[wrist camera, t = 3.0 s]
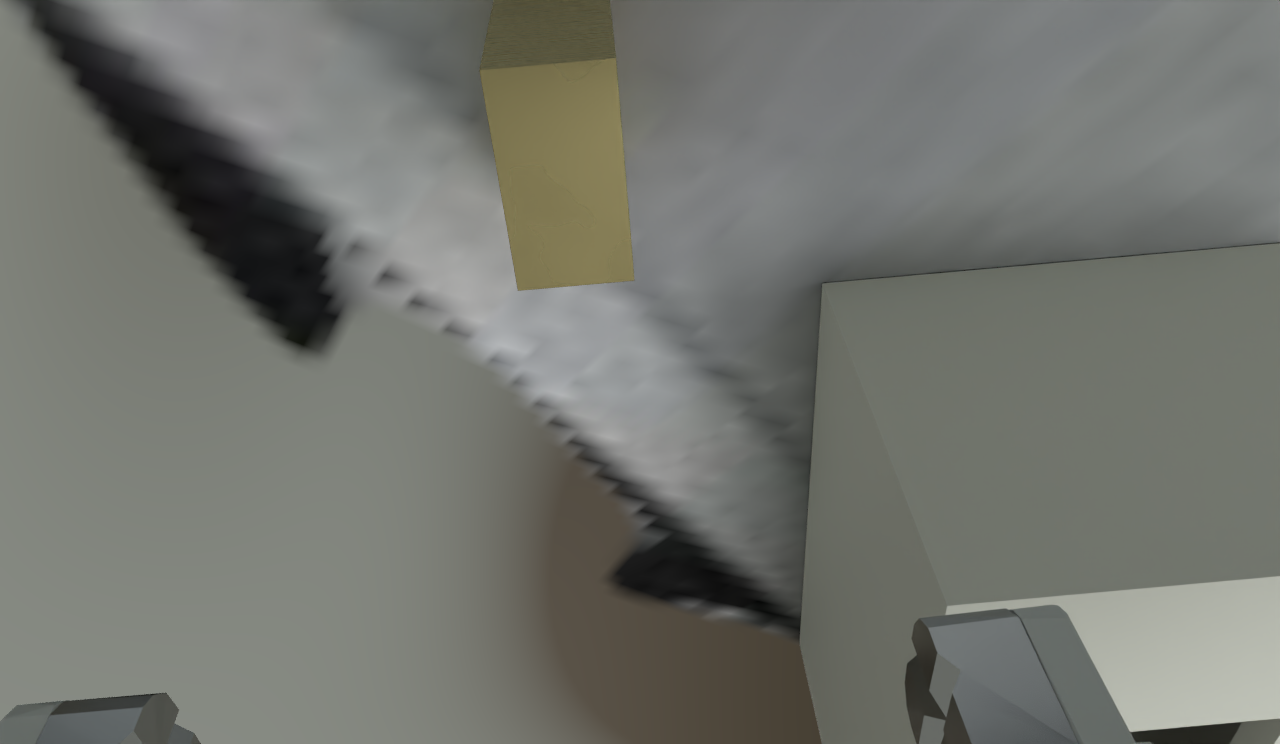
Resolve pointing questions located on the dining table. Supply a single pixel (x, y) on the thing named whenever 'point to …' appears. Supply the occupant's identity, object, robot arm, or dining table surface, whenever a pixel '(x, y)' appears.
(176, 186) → the dining table surface
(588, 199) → the yellow rectangular block
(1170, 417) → the tissue box
